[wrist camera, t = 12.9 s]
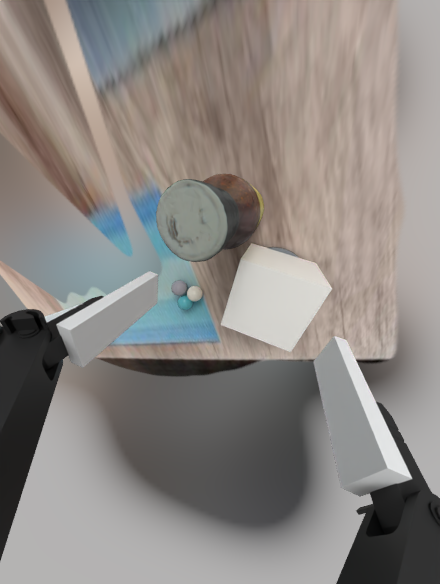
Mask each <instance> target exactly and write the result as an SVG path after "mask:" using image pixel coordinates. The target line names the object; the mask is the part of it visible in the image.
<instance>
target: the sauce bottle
mask: <svg viewBox="0 0 440 584" xmlns="http://www.w3.org/2000/svg"><path fill="white" fill-rule="evenodd" d="M263 212H264V204H263V199H262V197H261V195H260V193H259V192H258V191H257V190H256V189H255V188H254V187H253V186H252V185H251V184H249V183H248V182H247V181H245V180H244V179H241V178H239V177H237V176H235V175H231V174H217V175H214V176H212V177H210V178H208V179H206V180H204V181H203V182H202V181H198V180H192V179H185V180H181V181H177V182H175V183H174V184H172V185H171V186H170V187H168V188H167V190H166V191H165V192H164V193H163V194H162V196H161V198H160V200H159V202H158V207H157V212H156V218H157V227H158V230H159V233H160V235H161V237H162V239H163V241H164V242H165V244H166V245H167V247H168V248H169V249H170V250H171V251H172V252H173V253H174V254H176V255H177V256H178V257H179V258H181V259H184V260H186V261H192V262H200V261H206V260H208V259H210V258H212V257H213V256H215V255H216V254H217V253H219V252H220V251H221V250H222V249H232V248H235V247H237V246H239V245H241V244H243V243H244V242H245V241H247V240H248V239H249V238H250V237H251V235H252V234H253V233H254V231H255V230H256V228H257V226H258V224H259V222H260V220H261V218H262V216H263Z"/></svg>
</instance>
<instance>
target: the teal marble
mask: <svg viewBox="0 0 440 584" xmlns="http://www.w3.org/2000/svg"><path fill="white" fill-rule="evenodd" d="M192 304H193V301H191V300H190V299H189V298H188V297H187V295H183V296H181V297H180V298H179V299H178V306H179V308H181V309H182V310H188V309H190V308H191V307H192Z"/></svg>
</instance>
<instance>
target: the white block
mask: <svg viewBox="0 0 440 584" xmlns="http://www.w3.org/2000/svg"><path fill="white" fill-rule="evenodd" d="M331 290H332V288H331V286H330V285H329V283H328V281H327V280H326V278H325V277H324V275H323V273H322V272H321V270H320V269H319V267H318V265H317V264H316V263H314V262H311V261H308V260H304V259H301V258H298V257H295V256H291V255H288V254H285V253H282V252H278V251H275V250H272V249H269V248H266V247H262V246H259V245H256V244H253V243H251V245H250V246H249V247H248V249H247V250H246V252H245V253H244V255H243V256H242V258H241V260H240V263H239V266H238V270H237V273H236V276H235V279H234V283H233V286H232V289H231V293H230V296H229V299H228V302H227V306H226V309H225V312H224V315H223V319H222V322H221V325H222V326H225V327H227V328H230V329H232V330H235V331H238V332H240V333H243V334H245V335H248V336H250V337H253V338H255V339H258V340H261V341H263V342H266V343H268V344H271V345H273V346H276V347H279V348H281V349H284V350H286V351H289V352H291V351H292V349H293V348H294V346H295V345H296V343H297V342H298V340H299V339H300V337H301V336H302V334H303V333H304V331H305V329H306V328H307V326H308V325H309V323H310V322H311V320H312V319H313V317H314V316H315V314H316V313H317V311H318V310H319V308H320V307H321V305H322V303H323V302H324V300H325V299H326V297H327V296H328V294H329V293H330V291H331Z"/></svg>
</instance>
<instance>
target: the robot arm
mask: <svg viewBox="0 0 440 584" xmlns="http://www.w3.org/2000/svg"><path fill="white" fill-rule="evenodd" d="M157 292H158V274H155V273H153V272H150V271H149V272H147V273H145V274H144V275H142V276H140V277H139V278H137V279H135V280H133V281H131V282H130V283H128V284H126V285H124V286H123V287H121V288H119V289H117V290H116V291H114V292H112V293H110V294H109V295H107V296H105V297H103V296H99V297H95V298H92V299H90V300H88V301H86V302H84V303H83V304H81V305H79V306H77V307H76V308H73V309H71V310H69V311H68V312H66V313H64V314H62V315H60V316H58V317H56V318H55V319H53V320H51V321H49V322H46V320H45V317H44V315H43V313H42V312H41V311H39V310H35V309H27V310H21V311H17V312H14V313H11V314H9V315H7V316H5V317H4V318H2V319H1V320H0V322H1V324H2V325H3V327H1V326H0V560H1V557H2V554H3V551H4V548H5V545H6V541H7V538H8V535H9V532H10V529H11V526H12V522H13V519H14V516H15V513H16V510H17V507H18V504H19V501H20V498H21V494H22V491H23V488H24V485H25V482H26V479H27V476H28V472H29V469H30V466H31V463H32V460H33V457H34V454H35V450H36V447H37V444H38V441H39V437H40V435H41V432H42V428H43V425H44V422H45V419H46V416H47V413H48V409H49V406H50V403H51V400H52V397H53V394H54V391H55V387H56V384H57V381H58V378H59V375H60V372H61V369H62V366H63V359H64V358H65V357H66V356H69V358H70V361H71V362H72V363H74V364H76V365H78V366H80V367H84V366H85V365H87V364H88V363H89V362H90V361H91V360H92V359H94V358H95V357H96V356H97V355H98V354H99V353H100V352H102V351H103V350H104V349H105V348H106V347H107V346H108V345H110V344H111V343H112V342H113V341H114V340H115V339H116V338H118V337H119V336H120V335H121V334H122V333H123V332H125V331H126V330H127V329H128V328H129V327H130V326H131V325H133V324H134V323H135V322H136V321H137V320H138V319H139V318H141V317H142V316H143V315H144V314H145V313H146V312H147V311H149V310H150V309H151V308H152V307H153V306H154V305H156V304H157ZM314 366H315V370H316V375H317V380H318V384H319V389H320V393H321V398H322V402H323V407H324V412H325V417H326V421H327V426H328V430H329V435H330V440H331V444H332V449H333V454H334V458H335V463H336V467H337V472H338V477H339V481H340V485H341V488H343V489H345V490H347V491H349V492H352V493H354V494H356V495H358V496H363V495H366V494H369V493H370V495H371V498H372V501H373V504H371V505H368V506H364V507H360V508H359V509H358V510H357V513H358V514H363V513H366V514H365V517H364V519H363V521H362V524H361V526H360V528H359V531H358V533H357V535H356V538H355V540H354V543H353V545H352V548H351V550H350V552H349V555H348V557H347V559H346V562H345V564H344V567H343V569H342V571H341V574H340V576H339V578H338V581H337V583H336V584H440V498H439V497H437V496H436V495H434V494H432V492H431V491H430V489H429V487H428V485H427V483H426V481H425V479H424V478H423V476H422V474H421V472H420V470H419V468H418V466H417V464H416V462H415V460H414V458H413V456H412V454H411V452H410V451H409V449H408V447H407V445H406V443H404V439H403V437H402V435H401V433H400V432H399V431H398V427H397V426H396V424H395V422H394V420H393V418H392V416H391V415H390V414H389V412H388V411H387V410H386V409H385V407H384V406H383V405H382V404H381V403H378V402H376V401H375V399H374V398H373V395H372V393H371V391H370V389H369V387H368V385H367V383H366V381H365V378H364V376H363V374H362V372H361V370H360V368H359V366H358V364H357V362H356V360H355V358H354V355H353V353H352V351H351V349H350V347H349V345H348V343H347V341H346V340H345V339H342V338H339V337H336V336H334V337H333V338H332V339H331V340H330V342H329V343H328V344H327V345H326V347H325V348H324V349H323V350H322V352H321V353H320V354H319V355H318V357H317V358H316V359H315V360H314Z"/></svg>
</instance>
